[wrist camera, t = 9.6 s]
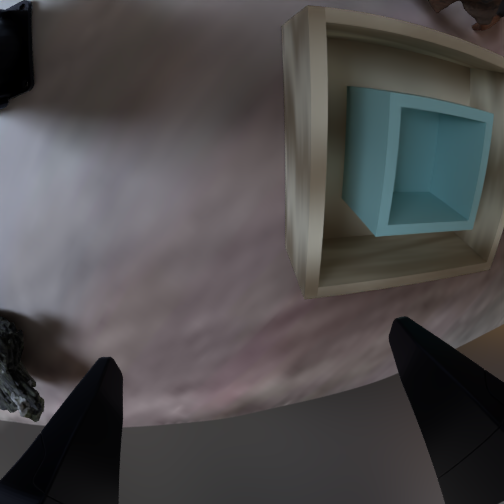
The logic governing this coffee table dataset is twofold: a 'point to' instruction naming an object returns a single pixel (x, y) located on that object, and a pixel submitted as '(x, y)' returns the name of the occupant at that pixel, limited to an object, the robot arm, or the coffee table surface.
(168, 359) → the coffee table surface
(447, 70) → the big crate
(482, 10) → the brown leather pouch belt
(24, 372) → the mineral specimen
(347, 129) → the small crate
